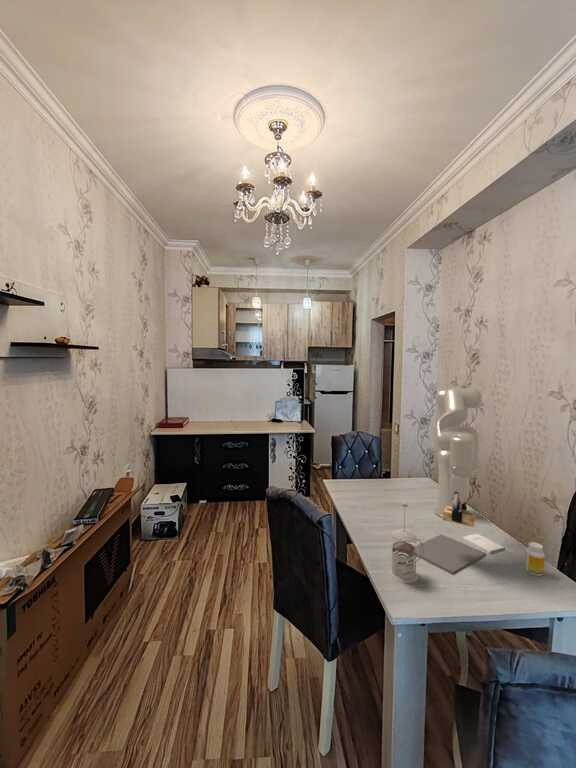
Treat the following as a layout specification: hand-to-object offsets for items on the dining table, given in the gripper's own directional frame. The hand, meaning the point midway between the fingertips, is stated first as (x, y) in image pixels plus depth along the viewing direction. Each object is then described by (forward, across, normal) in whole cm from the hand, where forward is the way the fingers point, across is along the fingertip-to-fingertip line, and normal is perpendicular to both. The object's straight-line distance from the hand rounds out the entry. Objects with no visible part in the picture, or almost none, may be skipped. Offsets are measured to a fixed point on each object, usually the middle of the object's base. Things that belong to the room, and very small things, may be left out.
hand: (459, 517), depth 131 cm
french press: (+15, +22, -11) cm, 29 cm away
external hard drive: (+16, -18, +5) cm, 24 cm away
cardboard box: (+1, 0, 0) cm, 1 cm away
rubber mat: (+15, -1, -4) cm, 16 cm away
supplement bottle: (+15, -7, +23) cm, 28 cm away
